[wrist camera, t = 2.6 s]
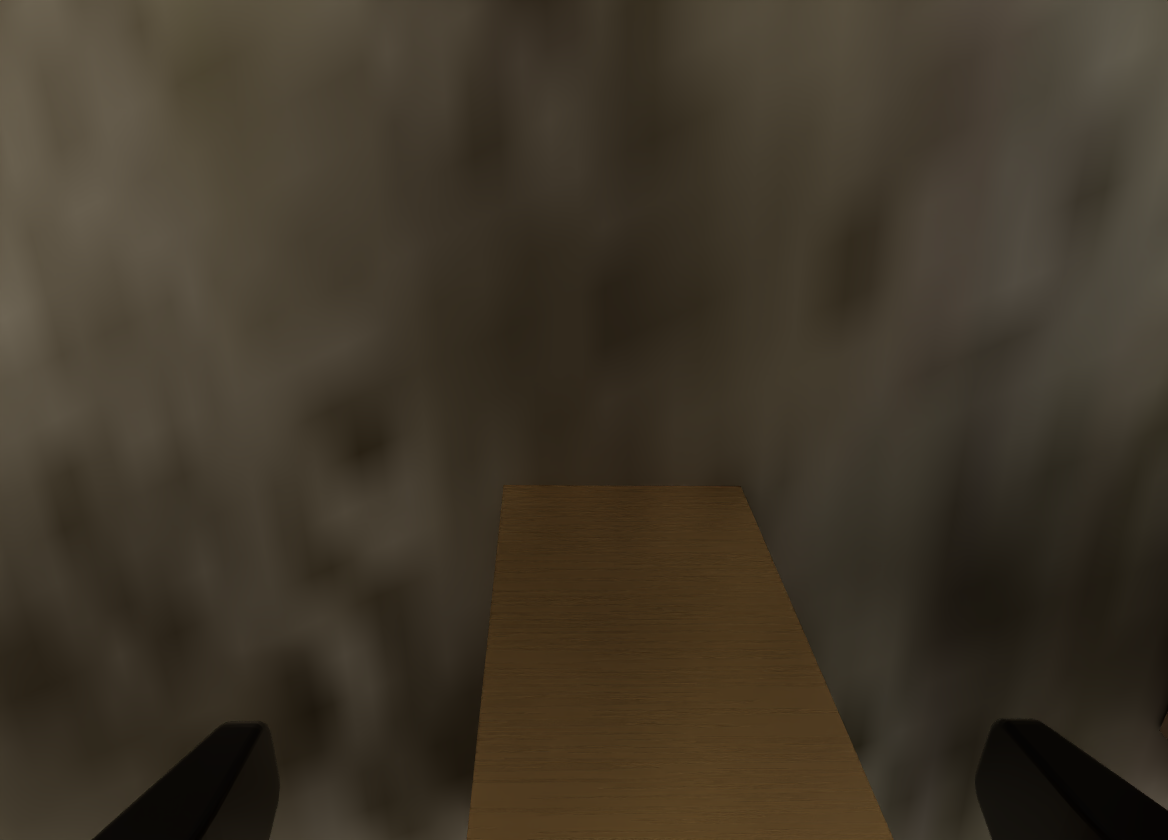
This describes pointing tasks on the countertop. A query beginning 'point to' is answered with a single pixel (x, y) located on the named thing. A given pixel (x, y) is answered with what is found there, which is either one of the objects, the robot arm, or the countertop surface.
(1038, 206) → the countertop surface
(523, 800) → the tan flat block
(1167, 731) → the box
